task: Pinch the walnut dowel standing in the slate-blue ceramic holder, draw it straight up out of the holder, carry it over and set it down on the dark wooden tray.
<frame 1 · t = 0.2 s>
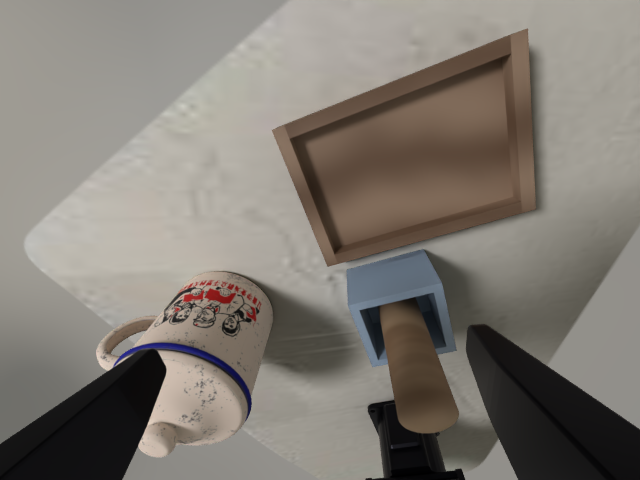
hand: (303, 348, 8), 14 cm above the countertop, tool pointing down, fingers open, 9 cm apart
holder cup: (393, 290, 24), on the countertop
tray: (401, 164, 19), on the countertop
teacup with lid: (212, 305, 26), on the countertop
dowel pin: (394, 294, 23), point 1 cm above the countertop, touching holder cup
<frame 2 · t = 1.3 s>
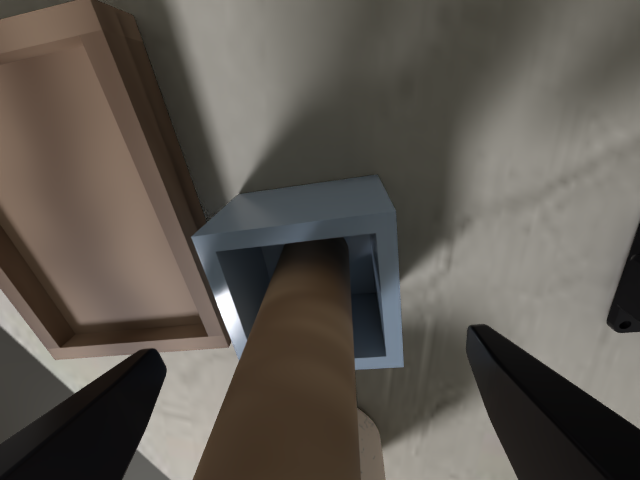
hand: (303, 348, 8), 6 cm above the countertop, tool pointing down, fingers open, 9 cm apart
holder cup: (317, 247, 14), on the countertop
tray: (102, 215, 14), on the countertop
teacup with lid: (312, 441, 21), on the countertop
dowel pin: (316, 253, 13), point 1 cm above the countertop, touching holder cup
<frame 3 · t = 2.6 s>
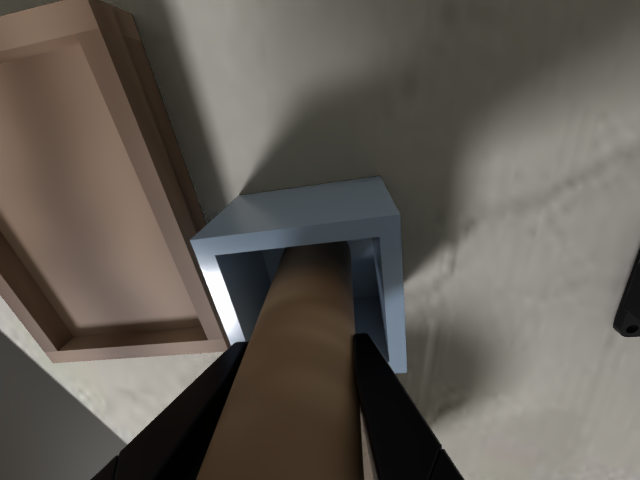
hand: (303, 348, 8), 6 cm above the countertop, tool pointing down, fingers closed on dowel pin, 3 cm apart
holder cup: (318, 249, 14), on the countertop
tray: (100, 217, 14), on the countertop
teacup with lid: (313, 445, 21), on the countertop
dowel pin: (317, 255, 13), point 1 cm above the countertop, touching gripper, holder cup
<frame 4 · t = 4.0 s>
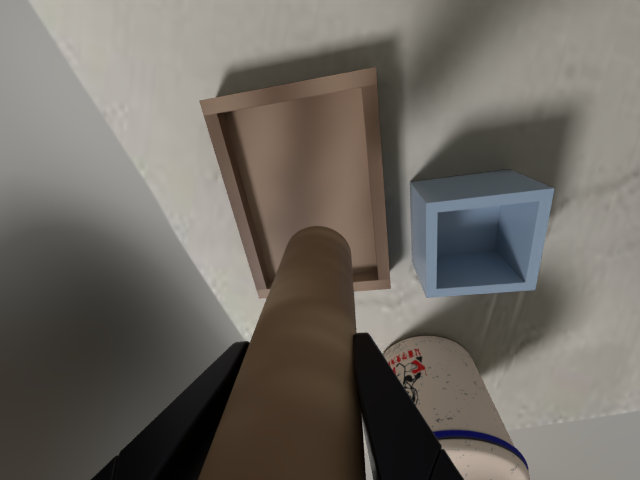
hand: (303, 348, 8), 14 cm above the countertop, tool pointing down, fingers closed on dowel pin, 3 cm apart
holder cup: (456, 219, 20), on the countertop
tray: (309, 196, 20), on the countertop
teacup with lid: (415, 376, 27), on the countertop
dowel pin: (318, 256, 13), point 8 cm above the countertop, touching gripper
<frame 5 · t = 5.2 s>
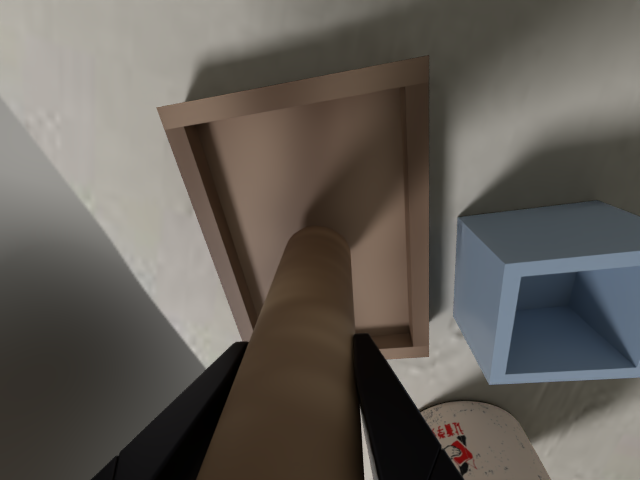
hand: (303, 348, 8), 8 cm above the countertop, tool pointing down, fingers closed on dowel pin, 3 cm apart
holder cup: (517, 264, 15), on the countertop
tray: (319, 235, 15), on the countertop
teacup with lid: (447, 443, 22), on the countertop
dowel pin: (317, 256, 13), point 2 cm above the countertop, touching gripper
when the fingers open (7 cm above the countertop, at t = 5.8 s): dowel pin drops 1 cm, resting on tray.
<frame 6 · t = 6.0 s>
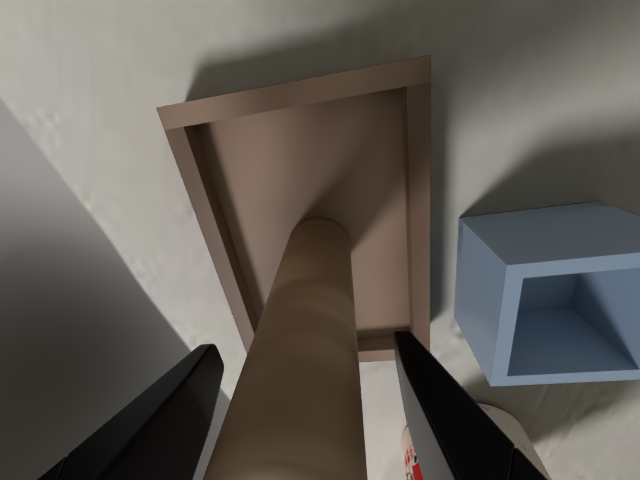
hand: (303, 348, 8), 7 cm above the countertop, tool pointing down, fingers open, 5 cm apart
holder cup: (518, 265, 15), on the countertop
tray: (319, 236, 15), on the countertop
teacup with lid: (448, 444, 22), on the countertop
dowel pin: (319, 245, 14), point 1 cm above the countertop, touching tray
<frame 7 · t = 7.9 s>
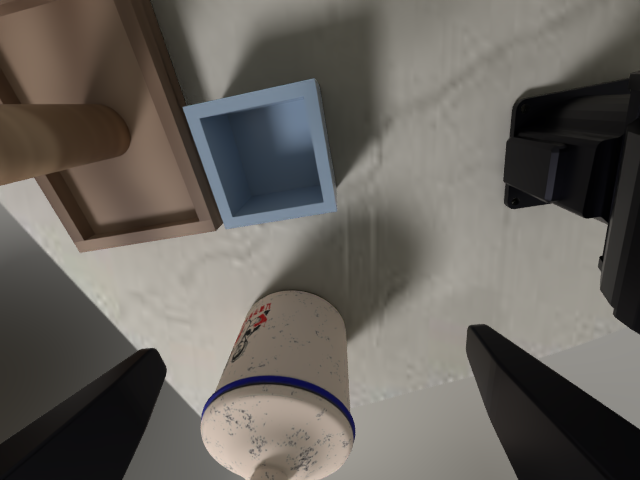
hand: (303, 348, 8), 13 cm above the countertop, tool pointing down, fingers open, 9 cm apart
holder cup: (280, 149, 18), on the countertop
tray: (116, 130, 18), on the countertop
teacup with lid: (291, 339, 25), on the countertop
dowel pin: (105, 131, 17), point 1 cm above the countertop, touching tray
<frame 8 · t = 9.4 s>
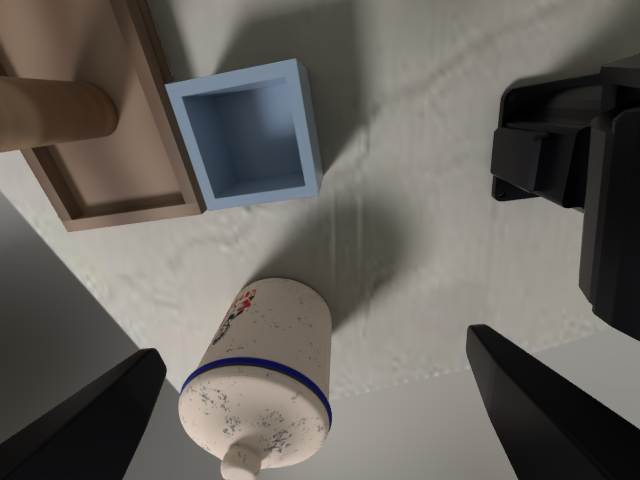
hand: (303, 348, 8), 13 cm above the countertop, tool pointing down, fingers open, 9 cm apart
holder cup: (267, 134, 18), on the countertop
tray: (105, 110, 18), on the countertop
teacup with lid: (278, 328, 25), on the countertop
dowel pin: (93, 110, 17), point 1 cm above the countertop, touching tray
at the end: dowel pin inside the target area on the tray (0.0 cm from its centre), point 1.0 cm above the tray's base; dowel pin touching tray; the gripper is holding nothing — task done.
